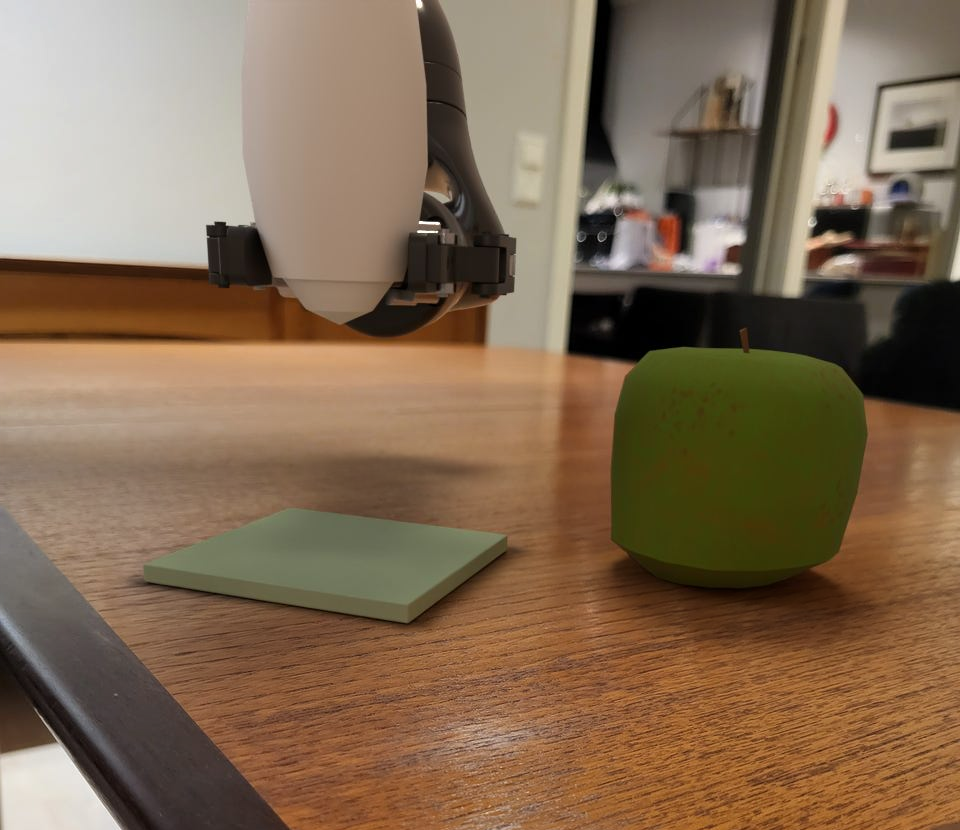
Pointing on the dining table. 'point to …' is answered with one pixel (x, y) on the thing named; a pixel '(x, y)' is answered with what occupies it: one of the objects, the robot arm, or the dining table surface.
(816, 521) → the apple
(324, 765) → the dining table surface
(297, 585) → the drink mat
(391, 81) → the white rounded shell
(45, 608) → the dining table surface
